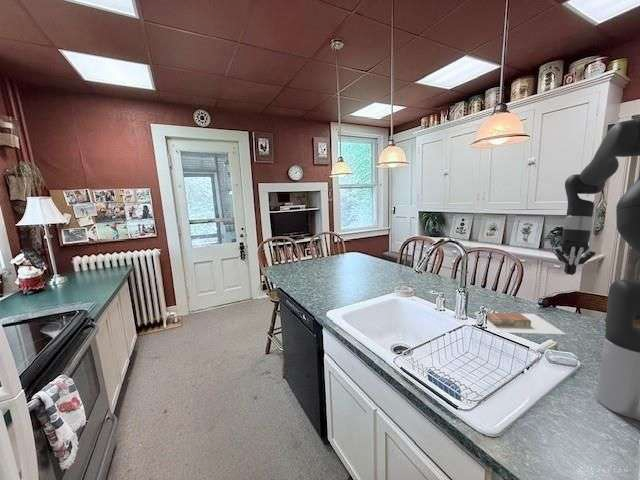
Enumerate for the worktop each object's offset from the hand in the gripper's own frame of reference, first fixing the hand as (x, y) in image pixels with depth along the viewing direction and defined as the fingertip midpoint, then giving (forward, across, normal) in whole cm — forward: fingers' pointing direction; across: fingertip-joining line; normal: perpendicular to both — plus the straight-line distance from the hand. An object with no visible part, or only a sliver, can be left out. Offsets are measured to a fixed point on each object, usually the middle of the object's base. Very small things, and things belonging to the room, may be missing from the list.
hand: (569, 274), depth 100 cm
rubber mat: (+24, -12, +7) cm, 28 cm away
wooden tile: (+22, -9, +7) cm, 25 cm away
